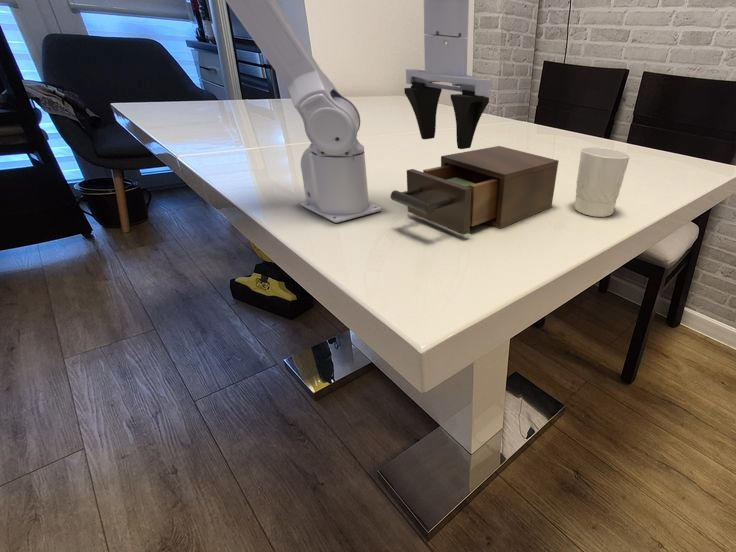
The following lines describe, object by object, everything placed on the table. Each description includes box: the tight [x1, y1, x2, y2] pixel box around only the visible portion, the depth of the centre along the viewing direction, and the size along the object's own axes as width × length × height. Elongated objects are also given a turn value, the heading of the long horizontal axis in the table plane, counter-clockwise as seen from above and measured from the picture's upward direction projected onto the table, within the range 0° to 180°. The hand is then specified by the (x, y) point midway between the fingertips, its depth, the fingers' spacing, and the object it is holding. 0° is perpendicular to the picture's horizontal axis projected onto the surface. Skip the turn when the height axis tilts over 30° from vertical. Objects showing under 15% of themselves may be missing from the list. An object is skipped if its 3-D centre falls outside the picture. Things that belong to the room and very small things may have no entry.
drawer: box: [390, 164, 500, 236], centre depth 59 cm, size 18×11×6 cm, turn 142°
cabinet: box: [440, 145, 559, 229], centre depth 66 cm, size 15×13×8 cm
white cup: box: [574, 146, 631, 218], centre depth 68 cm, size 8×8×10 cm
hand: (445, 143), depth 60 cm, fingers open, 7 cm apart
